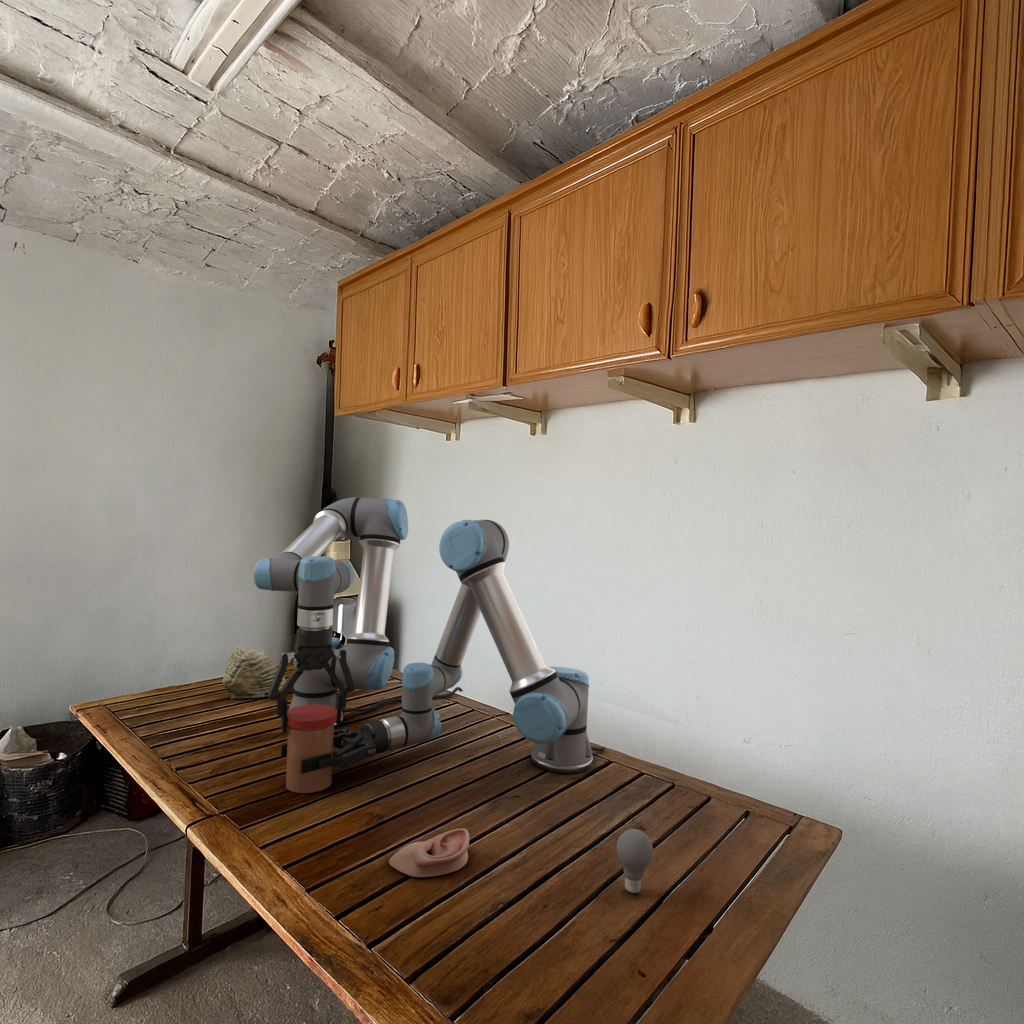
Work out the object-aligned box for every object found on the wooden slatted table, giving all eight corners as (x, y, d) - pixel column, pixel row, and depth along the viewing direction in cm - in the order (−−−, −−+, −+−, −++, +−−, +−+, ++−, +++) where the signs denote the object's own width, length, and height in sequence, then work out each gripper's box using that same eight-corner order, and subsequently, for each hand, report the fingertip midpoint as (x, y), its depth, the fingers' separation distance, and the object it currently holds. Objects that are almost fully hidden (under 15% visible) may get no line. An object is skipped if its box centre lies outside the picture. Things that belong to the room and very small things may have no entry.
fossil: (218, 695, 195) (220, 647, 195) (278, 685, 208) (279, 640, 207) (228, 703, 189) (230, 653, 188) (289, 692, 201) (290, 645, 201)
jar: (316, 769, 147) (319, 705, 146) (340, 783, 140) (343, 716, 140) (277, 782, 139) (279, 715, 139) (300, 797, 133) (303, 727, 133)
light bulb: (610, 879, 108) (613, 822, 108) (644, 879, 109) (647, 822, 109) (619, 902, 102) (622, 840, 102) (655, 901, 103) (658, 840, 103)
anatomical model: (382, 848, 108) (407, 816, 119) (381, 871, 108) (406, 837, 119) (457, 861, 105) (475, 826, 116) (456, 884, 105) (474, 848, 116)
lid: (332, 729, 135) (333, 721, 135) (279, 729, 134) (280, 720, 134) (340, 712, 146) (340, 704, 146) (291, 712, 144) (291, 704, 144)
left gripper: (260, 633, 130) (256, 739, 131) (371, 627, 141) (368, 725, 142) (256, 626, 137) (252, 727, 138) (363, 621, 148) (359, 714, 148)
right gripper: (406, 767, 144) (313, 795, 129) (358, 737, 160) (270, 758, 145) (408, 734, 143) (314, 758, 128) (359, 707, 160) (271, 726, 145)
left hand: (311, 726), depth 140 cm, fingers closed on lid, 11 cm apart
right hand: (291, 758), depth 137 cm, fingers closed on jar, 10 cm apart
